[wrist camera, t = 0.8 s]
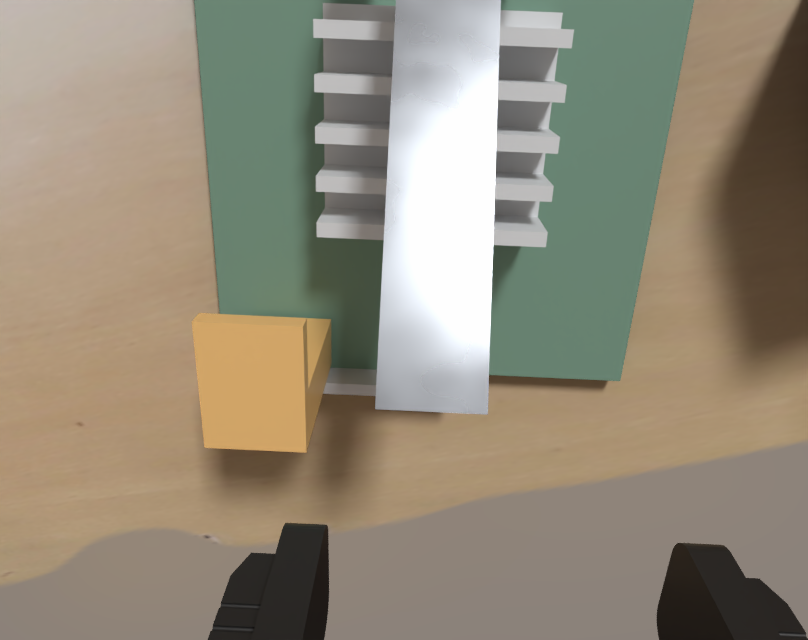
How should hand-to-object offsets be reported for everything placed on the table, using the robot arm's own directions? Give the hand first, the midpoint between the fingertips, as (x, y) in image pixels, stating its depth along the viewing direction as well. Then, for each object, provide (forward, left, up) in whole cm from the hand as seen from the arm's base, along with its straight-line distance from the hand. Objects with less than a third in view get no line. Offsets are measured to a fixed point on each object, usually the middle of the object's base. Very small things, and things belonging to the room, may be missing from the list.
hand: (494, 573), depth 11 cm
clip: (+8, +4, -20) cm, 22 cm away
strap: (+1, -6, -11) cm, 13 cm away
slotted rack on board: (+1, -5, -22) cm, 22 cm away
